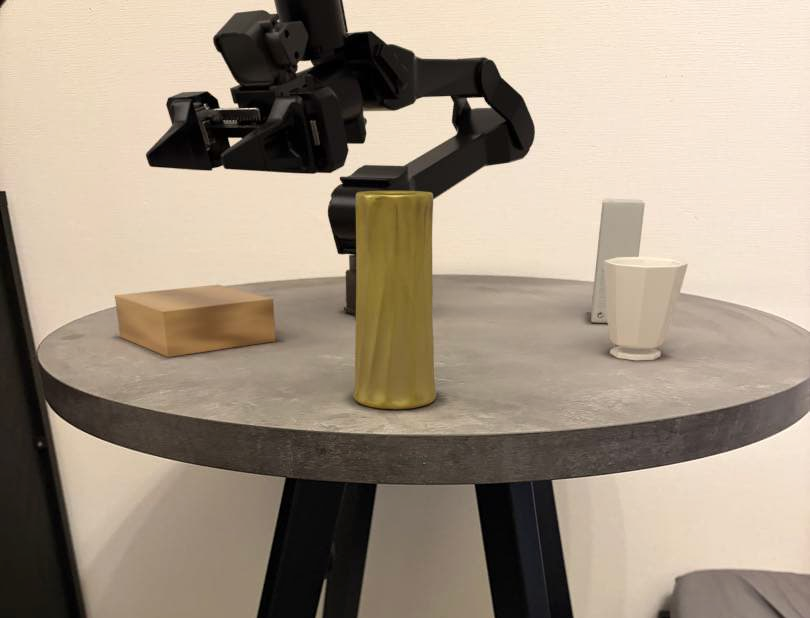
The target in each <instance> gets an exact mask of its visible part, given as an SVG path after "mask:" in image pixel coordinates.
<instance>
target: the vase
mask: <svg viewBox="0 0 810 618" xmlns="http://www.w3.org/2000/svg"><path fill="white" fill-rule="evenodd" d="M355 204H356V315H355V336H354V337H355V341H354V342H355V346H354V385H353V386H354V387H353V398H354V400H355V402H357V403H358V404H360V405H363V406H366V407H369V408H375V409H383V410H409V409H416V408H421V407H424V406H428V405H429V404H431V403H432V402H434V401H435V400H436V398H437V391H436V384H435V383H436V382H435V357H434V356H435V354H434V353H435V350H434V349H435V347H434V346H435V345H434V343H435V342H434V325H433V222H434V221H433V220H434V219H433V218H434V217H433V216H434V200H433V194H432V193H431V192H422V191H365V192H357V193H356V203H355Z"/></svg>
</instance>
